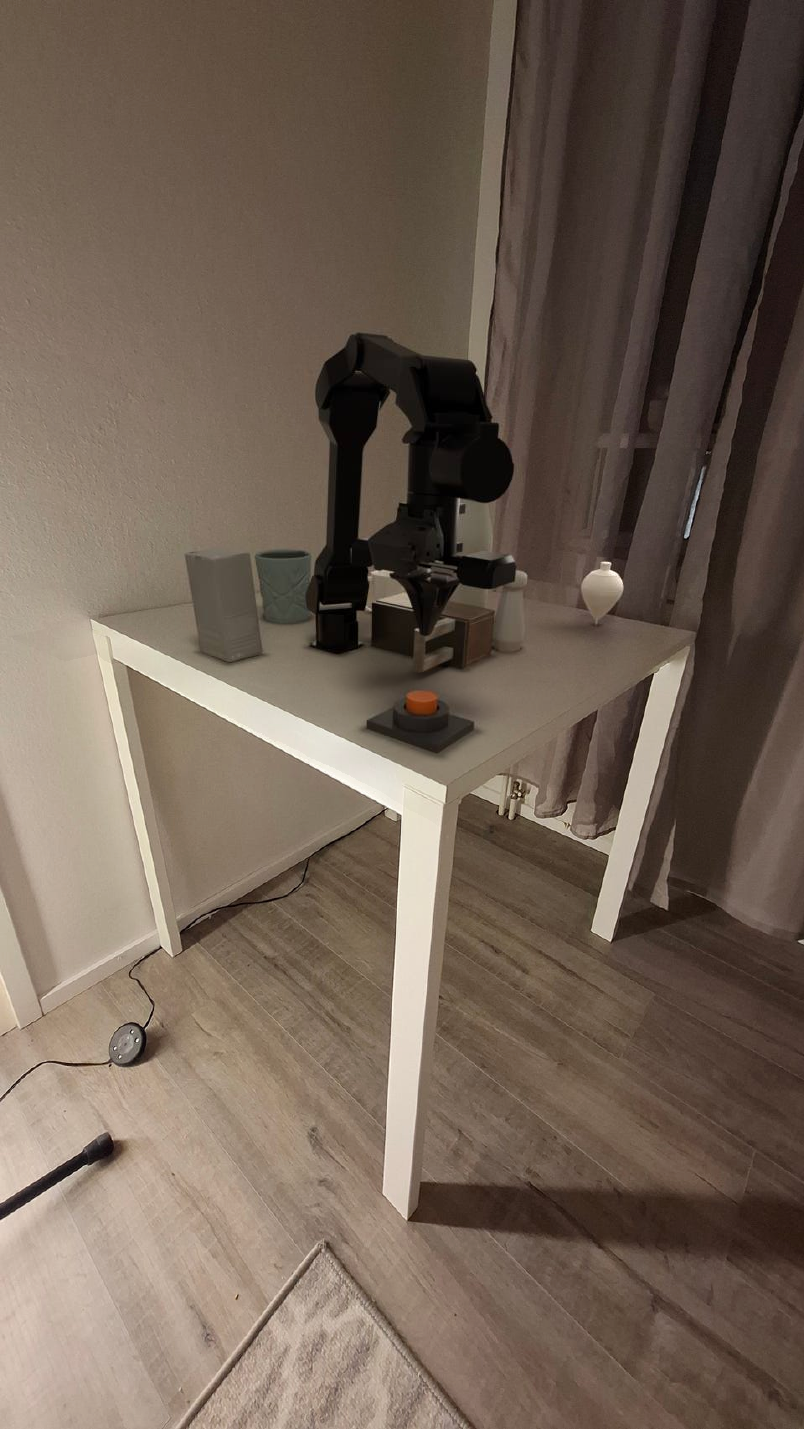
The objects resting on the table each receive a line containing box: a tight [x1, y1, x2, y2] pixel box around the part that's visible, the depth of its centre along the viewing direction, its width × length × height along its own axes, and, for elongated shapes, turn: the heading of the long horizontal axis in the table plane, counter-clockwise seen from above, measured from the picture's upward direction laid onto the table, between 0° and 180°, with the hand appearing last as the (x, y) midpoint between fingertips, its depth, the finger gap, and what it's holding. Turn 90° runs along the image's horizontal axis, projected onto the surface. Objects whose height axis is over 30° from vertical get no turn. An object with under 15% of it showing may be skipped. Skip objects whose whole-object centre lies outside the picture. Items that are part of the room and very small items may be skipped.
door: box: [370, 601, 468, 673], centre depth 93 cm, size 10×18×7 cm, turn 54°
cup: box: [365, 570, 405, 613], centre depth 120 cm, size 7×10×8 cm
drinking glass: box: [254, 548, 312, 624], centre depth 114 cm, size 10×10×12 cm
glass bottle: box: [437, 499, 494, 608], centre depth 114 cm, size 10×10×28 cm
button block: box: [366, 697, 475, 755], centre depth 72 cm, size 10×8×3 cm
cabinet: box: [376, 592, 496, 669], centre depth 100 cm, size 8×18×8 cm, turn 54°
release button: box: [405, 690, 438, 714], centre depth 72 cm, size 4×4×2 cm
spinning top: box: [580, 561, 624, 626], centre depth 117 cm, size 8×8×12 cm
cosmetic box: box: [184, 547, 263, 663], centre depth 93 cm, size 8×7×16 cm
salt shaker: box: [492, 569, 528, 653], centre depth 101 cm, size 6×6×13 cm
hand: (425, 635), depth 71 cm, fingers closed
